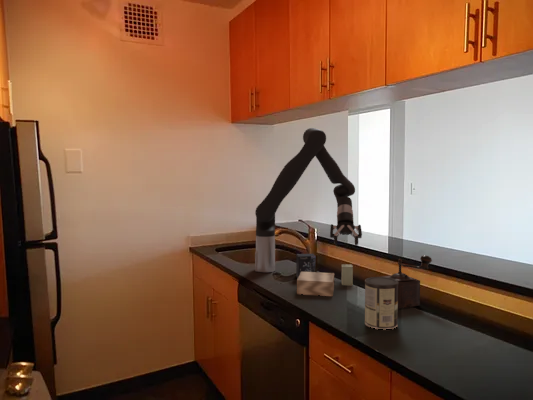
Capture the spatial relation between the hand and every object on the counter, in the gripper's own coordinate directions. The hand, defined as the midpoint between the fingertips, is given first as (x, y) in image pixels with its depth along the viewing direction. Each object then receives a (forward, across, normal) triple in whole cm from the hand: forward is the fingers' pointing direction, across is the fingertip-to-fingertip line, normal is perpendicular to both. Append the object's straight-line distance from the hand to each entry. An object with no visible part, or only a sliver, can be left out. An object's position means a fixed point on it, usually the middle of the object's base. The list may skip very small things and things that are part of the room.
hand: (346, 244), depth 187 cm
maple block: (+25, -13, -3) cm, 29 cm away
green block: (+17, 0, +4) cm, 18 cm away
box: (+12, -18, +10) cm, 24 cm away
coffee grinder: (+34, +20, -12) cm, 41 cm away
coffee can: (+50, +8, -28) cm, 58 cm away
